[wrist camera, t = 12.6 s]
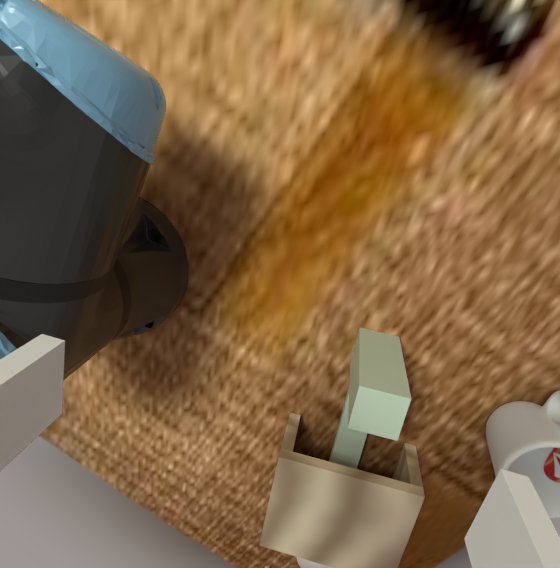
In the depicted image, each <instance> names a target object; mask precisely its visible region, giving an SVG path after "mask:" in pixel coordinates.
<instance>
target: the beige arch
mask: <svg viewBox="0 0 560 568" xmlns="http://www.w3.org/2000/svg"><path fill="white" fill-rule="evenodd" d="M300 416H301V415H298V414H295V413H291V412H290V415H289V419H288V423H287V427H286V431H285V435H284V439H283V442H282V446H281V450H280V454H279V458H278V463H277V467H276V472H275V476H274V481H273V485H272V490H271V494H270V499H269V503H268V508H267V513H266V517H265V522H264V526H263V531H262V535H261V540H260V544H259V546H262V547H266V548H269V549H272V550H276V551H279V552H282V553H286V554H289V555H292V556H296V557H299V558H302V559H306V560H309V561H312V562H316V563H319V564H322V565H326V566H329V567H332V568H398V566H399V563H400V560H401V558H402V555H403V553H404V550H405V547H406V545H407V542H408V540H409V537H410V535H411V532H412V529H413V527H414V524H415V522H416V519H417V516H418V514H419V511H420V509H421V506H422V504H423V501H424V498H425V495H424V489H423V484H422V478H421V473H420V467H419V462H418V456H417V451H416V445H413V444H409V443H405V442H404V445H403V448H402V451H401V454H400V457H399V460H398V463H397V466H396V469H395V471H394V474H393V477H392V479H391V478H387V477H384V476H380V475H376V474H373V473H369V472H365V471H362V470H358V469H354V468H351V467H347V466H343V465H340V464H336V463H332V462H329V461H325V460H321V459H318V458H314V457H310V456H307V455H303V454H299V453H296V452H293V448H294V443H295V439H296V434H297V430H298V425H299V421H300Z"/></svg>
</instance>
